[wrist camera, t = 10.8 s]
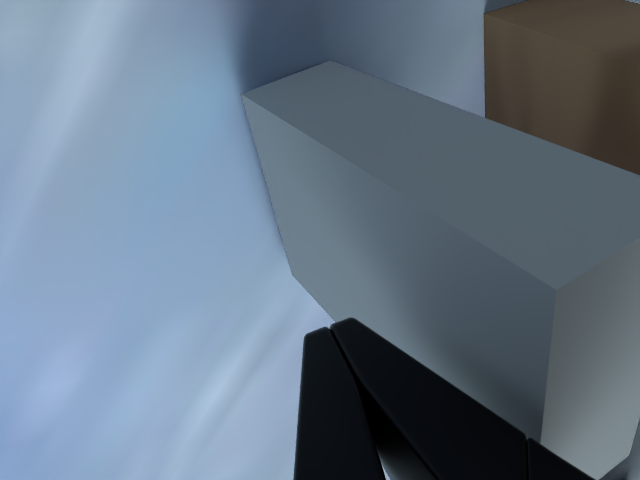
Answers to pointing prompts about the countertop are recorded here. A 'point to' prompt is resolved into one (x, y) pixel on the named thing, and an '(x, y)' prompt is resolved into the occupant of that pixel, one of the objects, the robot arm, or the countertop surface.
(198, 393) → the countertop surface
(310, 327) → the countertop surface
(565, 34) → the brown rectangular block
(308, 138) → the block
